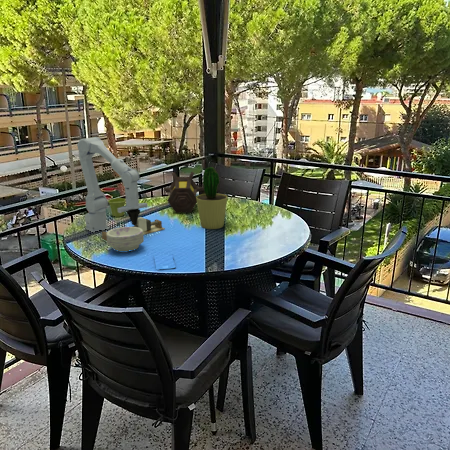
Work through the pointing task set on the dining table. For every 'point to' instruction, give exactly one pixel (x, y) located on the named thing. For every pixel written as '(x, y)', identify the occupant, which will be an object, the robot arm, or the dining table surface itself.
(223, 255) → the dining table surface
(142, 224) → the pale sage cube
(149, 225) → the bracket
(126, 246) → the paper bowls
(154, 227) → the pipe stand
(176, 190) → the lantern
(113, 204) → the plant pot
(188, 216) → the dining table surface
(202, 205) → the potted cactus
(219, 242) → the dining table surface
